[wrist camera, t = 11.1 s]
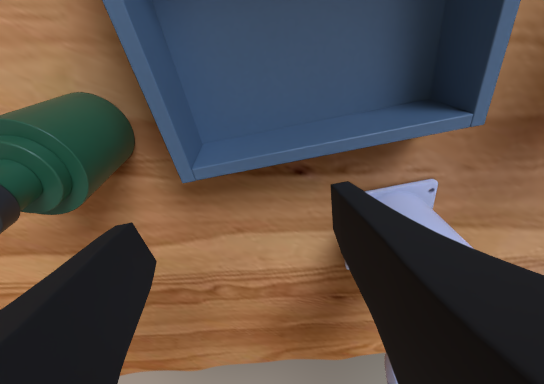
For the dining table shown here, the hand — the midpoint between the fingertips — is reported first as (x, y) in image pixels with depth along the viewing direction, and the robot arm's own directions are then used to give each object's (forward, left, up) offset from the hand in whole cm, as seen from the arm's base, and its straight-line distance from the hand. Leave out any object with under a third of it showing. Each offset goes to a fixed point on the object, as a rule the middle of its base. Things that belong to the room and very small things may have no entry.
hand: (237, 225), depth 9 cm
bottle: (+2, +10, -10) cm, 15 cm away
